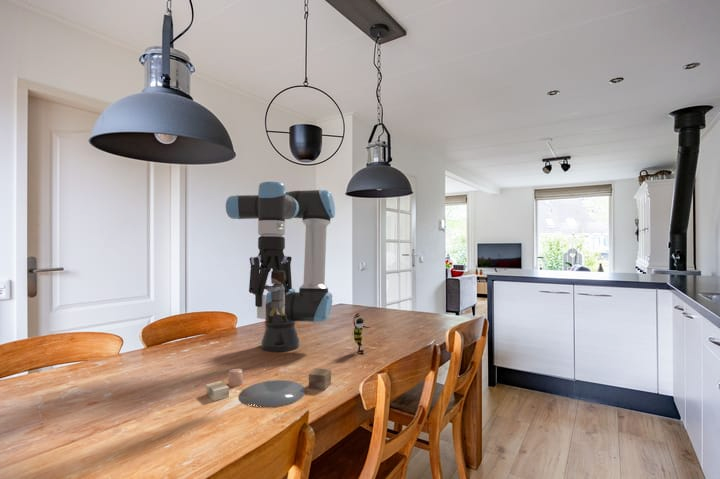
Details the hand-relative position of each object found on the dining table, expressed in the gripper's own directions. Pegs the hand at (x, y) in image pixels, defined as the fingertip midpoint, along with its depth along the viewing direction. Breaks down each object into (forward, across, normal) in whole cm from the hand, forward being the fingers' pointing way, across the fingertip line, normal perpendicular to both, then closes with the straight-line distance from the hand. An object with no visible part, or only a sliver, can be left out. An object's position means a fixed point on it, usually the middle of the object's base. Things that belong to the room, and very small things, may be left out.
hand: (271, 316), depth 106 cm
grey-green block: (+22, -11, +9) cm, 27 cm away
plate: (+22, -1, -2) cm, 22 cm away
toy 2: (+21, +46, +2) cm, 50 cm away
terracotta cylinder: (+22, -3, +12) cm, 25 cm away
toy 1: (+2, -1, 0) cm, 2 cm away
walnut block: (+22, +11, -9) cm, 26 cm away
